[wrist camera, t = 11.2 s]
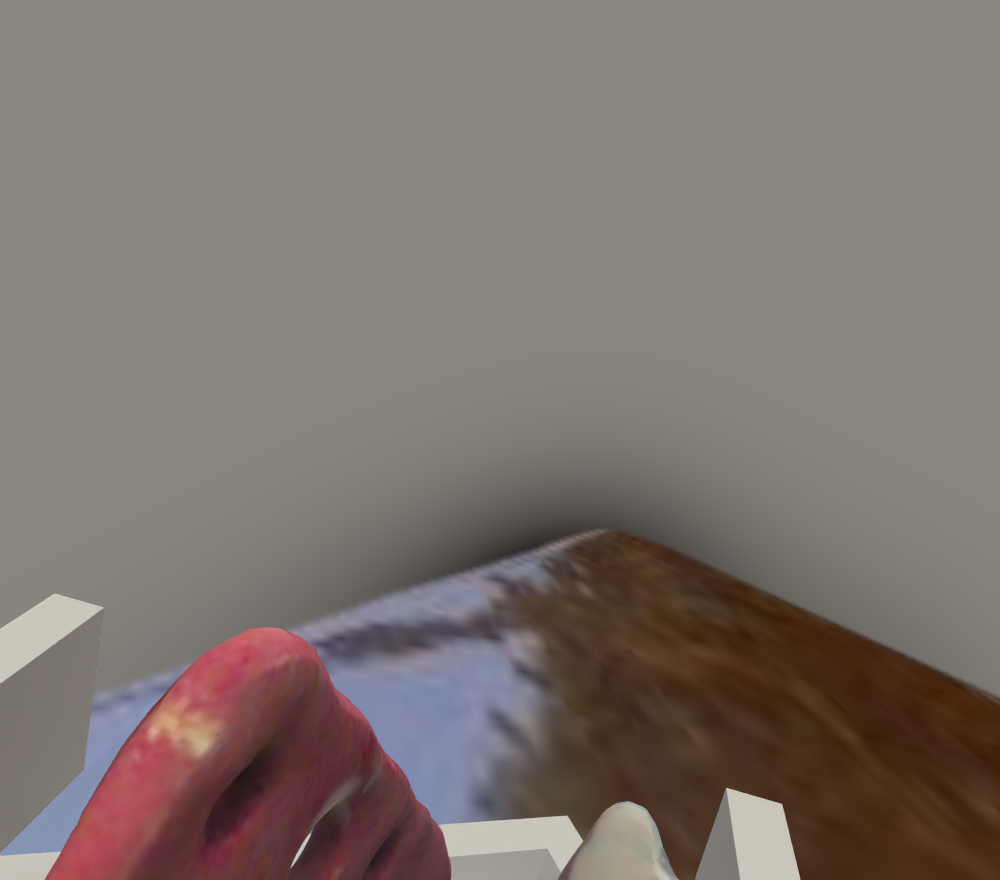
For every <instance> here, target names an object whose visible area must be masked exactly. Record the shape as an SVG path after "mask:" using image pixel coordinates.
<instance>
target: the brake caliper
mask: <svg viewBox="0 0 1000 880" xmlns="http://www.w3.org/2000/svg"><path fill="white" fill-rule="evenodd" d="M312 829H313V831H312V833H311V836H310V838H309V840H308V842H307V844H306V845H305V847H304V849H303V851H302V852H301V854H300V856H299V858H298V859H297V860H296V862H295V863H294V865H293V866H292V863H293V861H294V859H295V856H296V854H297V853H298V851H299V849H300V847H301V846H302V844H303V842H304V840H305V839H306V838H307V836H308V835H309V833H310V832H311V830H312ZM291 866H292V868H291ZM45 880H451V863H450V859H449V856H448V850H447V847H446V842H445V839H444V834H443V832H442V830H441V828H440V827H439V825H438V824H437V823H436V822H435V821H434V820H433V819H432V818H431V816H430V813H429V811H428V810H427V808H426V807H425V806H423V805H422V804H421V803H420V802H419V801H417V800H416V797H415V795H414V793H413V791H412V789H411V788H410V784H409V781H408V779H407V777H406V775H405V774H404V772H403V771H402V770H401V768H400V767H399V765H398V764H397V763H395V762H394V761H393V760H392V759H391V758H390V757H389V756H388V755H387V754H386V753H385V752H384V750H383V749H382V747H381V745H380V744H379V742H378V740H377V738H376V735H375V733H374V731H373V729H372V727H371V725H370V724H369V722H368V720H367V719H366V718H365V716H364V715H363V714H362V713H361V711H360V710H359V709H358V708H357V707H356V706H355V705H354V704H352V703H351V701H350V700H349V699H348V698H346V697H345V696H344V695H343V694H341V693H340V692H339V691H338V690H336V689H335V687H334V686H333V683H332V681H331V679H330V677H329V674H328V671H327V670H326V668H325V667H324V665H323V664H322V661H321V659H320V657H319V656H318V654H317V652H316V650H315V649H314V648H313V647H312V646H311V645H310V644H309V643H308V642H307V641H305V640H303V639H302V638H301V637H299V636H297V635H295V634H293V633H290V632H287V631H284V630H281V629H278V628H253V629H250V630H247V631H245V632H243V633H241V634H239V635H237V636H235V637H233V638H231V639H229V640H227V641H225V642H223V643H221V644H219V645H217V646H215V647H214V648H212V649H211V650H209V651H208V652H206V653H205V654H203V655H202V656H201V657H200V658H199V659H198V660H197V661H196V662H194V663H193V664H192V665H191V666H190V667H189V668H188V669H187V670H186V671H185V672H184V673H183V674H182V675H181V676H180V677H179V678H178V679H177V680H176V681H175V682H174V684H173V685H172V686H171V687H170V688H169V689H168V690H167V692H166V693H165V694H164V695H163V696H162V697H161V699H160V700H159V701H158V702H157V703H156V704H155V705H154V706H153V707H152V708H151V709H150V711H149V712H148V713H147V715H146V716H145V717H144V719H143V720H142V721H141V722H140V724H139V725H138V726H137V727H136V729H135V730H134V731H133V733H132V734H131V735H130V736H129V738H128V739H127V740H126V742H125V743H124V744H123V746H122V747H121V749H120V751H119V752H118V754H117V755H116V757H115V759H114V760H113V762H112V763H111V765H110V767H109V768H108V770H107V772H106V773H105V775H104V777H103V778H102V780H101V782H100V783H99V785H98V786H97V788H96V790H95V792H94V794H93V795H92V797H91V799H90V800H89V802H88V804H87V805H86V807H85V809H84V810H83V812H82V814H81V817H80V819H79V822H78V824H77V826H76V827H75V829H74V830H73V831H72V833H71V835H70V837H69V839H68V841H67V843H66V844H65V846H64V848H63V850H62V851H61V853H60V855H59V856H58V858H57V860H56V861H55V863H54V865H53V866H52V868H51V870H50V871H49V873H48V874H47V876H46V878H45ZM558 880H679V879H678V878H677V877H676V876H675V874H674V872H673V870H672V868H671V866H670V864H669V861H668V857H667V855H666V853H665V851H664V849H663V846H662V843H661V839H660V835H659V832H658V829H657V827H656V824H655V823H654V821H653V819H652V818H651V816H650V814H649V813H648V811H647V810H646V809H645V808H644V807H642V806H639V805H637V804H635V803H632V802H629V801H628V802H621V803H617V804H614V805H613V806H611V807H610V808H608V809H607V810H605V811H604V812H603V814H602V815H601V816H600V817H599V819H598V820H597V821H596V822H595V824H594V825H593V827H592V828H591V829H590V831H589V833H588V835H587V836H586V838H585V840H584V841H583V842H582V843H581V845H580V846H579V847H578V849H577V850H576V852H575V853H574V854H573V856H572V857H571V859H570V860H569V861H568V863H567V864H566V866H565V867H564V869H563V870H562V872H561V874H560V876H559V878H558Z"/></svg>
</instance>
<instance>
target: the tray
mask: <svg viewBox="0 0 1000 880" xmlns="http://www.w3.org/2000/svg"><path fill="white" fill-rule="evenodd" d="M439 827H440V828H441V830H442V832H443V834H444V839H445V842H446V847H447V850H448V856H449V859H450V863H451V880H558V878H559V876H560V874H561V872H562V870H563V869H564V867H565V866H566V864H567V863H568V861H569V860H570V859H571V857H572V856H573V854H574V853H575V852H576V850H577V849H578V847H579V846H580V845H581V843H582V842H583V840H582V839H581V837H580V836H579V834H578V832H577V831H576V829H575V827H574V826H573V824H572V823H571V821H570V819H569V818H568V816H557V817H543V818H529V819H515V820H501V821H486V822H472V823H458V824H444V825H439ZM310 836H311V834H309V835H308V836H307V838H306V839H305V840H304V842H303V844H302V846H301V847H300V849H299V851H298V853H297V854H296V856H295V859H294V861H293V863H292V866H293V865H294V863H295V862H296V860H297V859H298V858H299V856H300V854H301V852H302V851H303V849H304V847H305V845H306V844H307V842H308V840H309V838H310ZM60 853H61V852H48V853H34V854H20V855H6V856H0V880H45V878H46V876H47V874H48V873H49V871H50V870H51V868H52V866H53V865H54V863H55V861H56V860H57V858H58V856H59V855H60ZM292 866H291V868H292Z"/></svg>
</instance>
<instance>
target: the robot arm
mask: <svg viewBox="0 0 1000 880" xmlns="http://www.w3.org/2000/svg"><path fill="white" fill-rule="evenodd" d="M103 612H104V608H103V607H100V606H96V605H93V604H89V603H86V602H82V601H79V600H75V599H72V598H69V597H65V596H61V595H58V594H54V595H52V596H51V597H49V598H47V599H46V600H44V601H43V602H41V603H40V604H38V605H37V606H35V607H34V608H32V609H30V610H29V611H27V612H26V613H24V614H23V615H21V616H20V617H18V618H16V619H15V620H13V621H12V622H10V623H9V624H7V625H6V626H4V627H3V628H1V629H0V852H1V851H2V850H3V849H4V848H5V847H6V846H7V845H8V844H9V843H10V842H11V841H12V840H13V839H14V838H15V837H16V836H17V835H18V834H19V833H20V832H21V831H22V830H23V829H24V828H25V827H26V826H27V825H28V824H29V823H30V822H31V821H32V820H33V819H34V818H35V817H36V816H37V815H38V814H39V813H40V812H41V811H42V810H43V809H44V808H45V807H46V806H47V805H48V804H49V803H50V802H51V801H52V800H53V799H54V798H55V797H56V796H57V795H58V794H59V793H60V792H61V791H62V790H63V789H64V788H65V787H66V786H67V785H68V784H69V783H70V782H71V781H72V780H73V779H74V778H75V777H76V776H77V775H78V774H79V773H80V772H81V771H82V770H83V769H84V763H85V755H86V747H87V739H88V731H89V723H90V715H91V707H92V699H93V691H94V683H95V675H96V668H97V660H98V651H99V644H100V635H101V628H102V620H103ZM695 880H800V876H799V872H798V868H797V864H796V860H795V856H794V852H793V847H792V843H791V839H790V835H789V831H788V827H787V823H786V819H785V815H784V811H783V806H782V804H780V803H776V802H773V801H769V800H766V799H762V798H759V797H755V796H752V795H749V794H745V793H742V792H738V791H735V790H731V789H728V788H726V790H725V793H724V796H723V799H722V802H721V805H720V808H719V811H718V814H717V816H716V819H715V822H714V825H713V828H712V831H711V834H710V837H709V840H708V843H707V846H706V848H705V851H704V854H703V857H702V860H701V863H700V866H699V869H698V872H697V875H696V878H695Z"/></svg>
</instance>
